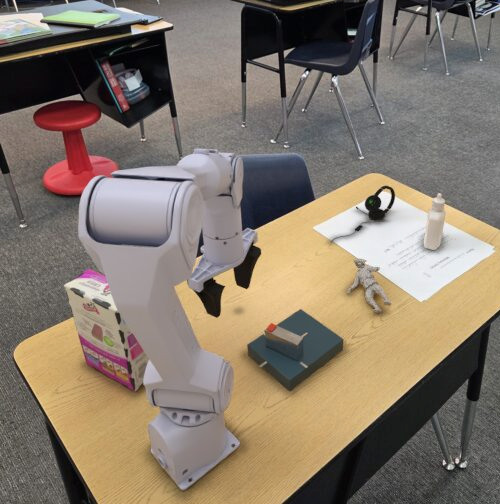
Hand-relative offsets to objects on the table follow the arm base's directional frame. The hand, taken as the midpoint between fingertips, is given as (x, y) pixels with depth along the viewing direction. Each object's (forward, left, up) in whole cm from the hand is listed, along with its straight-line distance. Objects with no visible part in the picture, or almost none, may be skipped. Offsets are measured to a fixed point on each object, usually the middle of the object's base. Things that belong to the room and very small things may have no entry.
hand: (228, 299), depth 86 cm
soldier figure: (+26, -8, -10) cm, 29 cm away
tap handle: (+4, -9, -7) cm, 12 cm away
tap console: (+6, -9, -9) cm, 14 cm away
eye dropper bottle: (+48, -7, -10) cm, 49 cm away
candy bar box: (-16, +8, -10) cm, 20 cm away
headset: (+43, +9, -10) cm, 45 cm away
